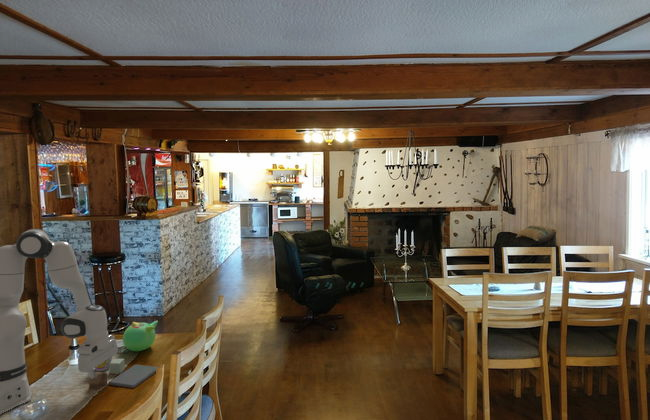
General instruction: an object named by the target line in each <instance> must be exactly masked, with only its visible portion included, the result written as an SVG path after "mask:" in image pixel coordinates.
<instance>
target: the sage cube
mask: <svg viewBox="0 0 650 420" xmlns="http://www.w3.org/2000/svg"><path fill="white" fill-rule="evenodd" d="M125 363H126V362H125V358H112V361H111V367H109V368H108V371H109V373H118V374H117V375H120V374H122V373H123V372H124V371H125V370H126V365H125Z"/></svg>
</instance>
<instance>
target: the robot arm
mask: <svg viewBox="0 0 650 420" xmlns="http://www.w3.org/2000/svg"><path fill="white" fill-rule="evenodd" d="M29 258H30V259H44V261H45V263H46V264H45V265H46V267H47V272H48V276H49V280H50V281H51V283H52V284H53V285H54V286H55V287H57V288H60V289H67V290H69V291H70V292H71V294H72V296H73V300H74V303H75V306H76V311H75V312H73V313H72V314H70V315H68V316H67V317H66V318H65V319H63V320H62V321H61V324H60V332H61V333H62V335H63V336H64V337H66V338H68V339H74V338H76V339H77V338H80V337H85V340H84V341H83V342H82V344H81V345H80V346H79V347H78V348H77V350H76V352H77V354H78V357H77V366H78V371H79V372H80V373H87V374H88V375H89V377H90V378H92V379H93V378H94V377H96V374H95V373H96V372H94V369H95V367H97V366H98V365H100V364H101V363H103V362H104V361H106V360H107V362H106V364H105V368H108V369H109V367H111V361H112V360H113V356H115V355H117V354H118V352H119V348H118V343H117V340H116V337H115V335H113V334H110V335H109V331H108V318H107V317H108V316H107V313H106V310H105V308H104V307H103V306H102V305H99V304H94V303H93V301H92V298H91V295H90V292H89V290H88V286H87V283H86V281H85V279H84V278H83V276H82V275H81V274H82V273H81V272H80V268H79V266H78V261H77V258H76V255H75V251H74V248H73V247H72V244H70V243H69V242H67V241H65V240H61V241H60V240H59V241H53V240H51V236H50V234H49V233H48V232H47V231H46V230H44V229H42V228H30V229H28V230H26V231H24V232H22V233H21V234H20V236H19V237H18V238H17V240H16V241H15V244H6V245H2V246H0V415H2V413H3V414H5V413H7V412H9V411H11V410H13V409H12V408H13V407H15V406H17V405H20V404H22V403H24V402H27V401H29V400H32V395H33V391H32V389H31V387H30V385H29V380H28V375H27V371H28V367H27V366H28V365H27V364H28V363H27V361H26V357H25V337H26V328H27V325H28V322H27V321H28V320H27V318H26V315H25V314H24V312H22V311H21V310H20V309H19V307H20V306H19V305H20V300H21V297H22V295H23V292H24V288H25V287H24V286H25V285H24V284H25V269H26V268H25V267H26V261H27V259H29ZM29 402H30V401H29ZM27 403H28V402H27ZM24 404H25V403H24ZM22 405H23V404H22ZM20 406H21V405H20ZM10 409H11V410H10ZM8 410H9V411H8ZM6 411H7V412H6ZM4 412H5V413H4Z"/></svg>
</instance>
